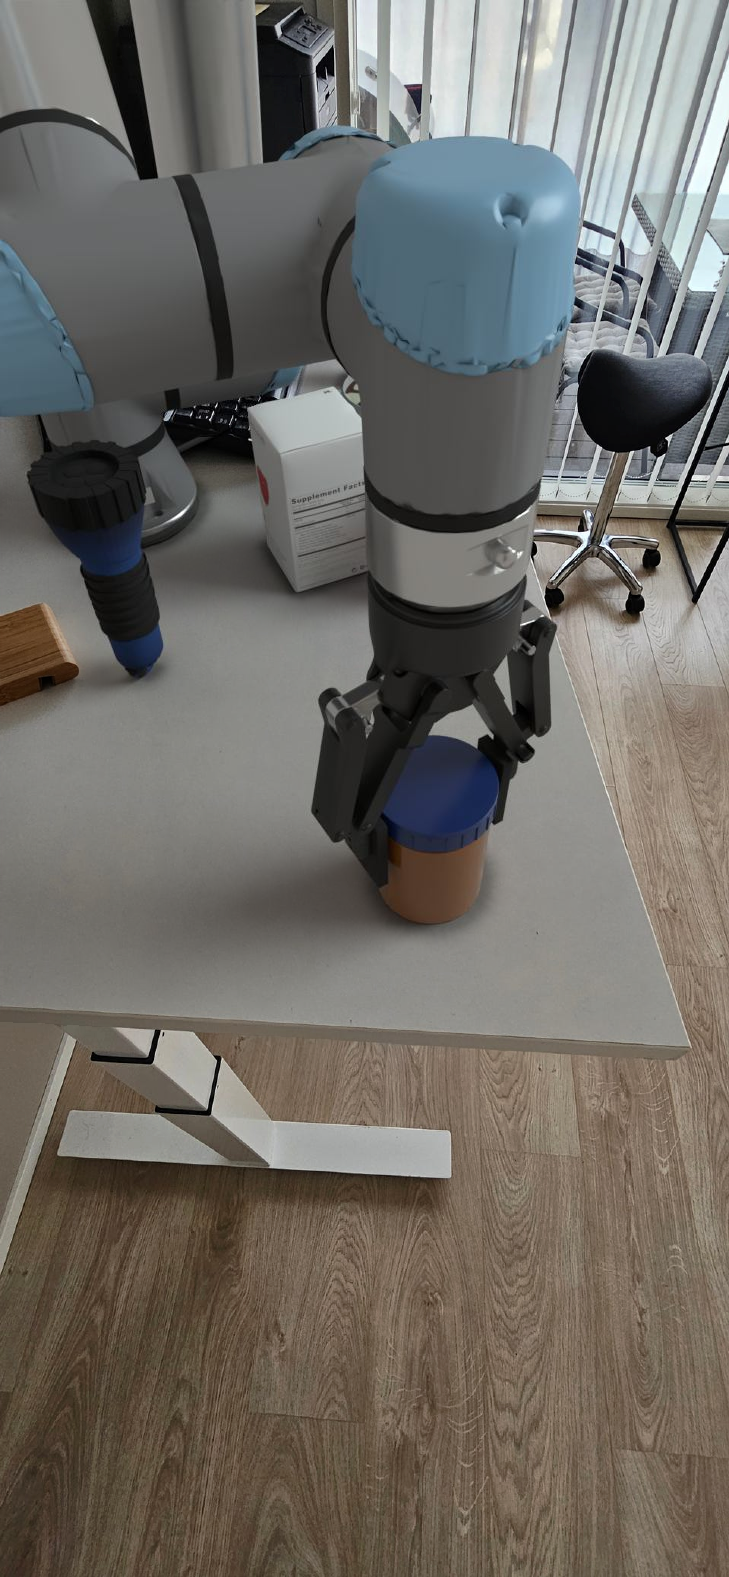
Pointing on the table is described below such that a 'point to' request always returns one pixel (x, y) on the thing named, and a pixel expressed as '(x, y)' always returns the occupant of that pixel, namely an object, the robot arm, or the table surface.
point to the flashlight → (104, 540)
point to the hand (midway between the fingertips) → (431, 839)
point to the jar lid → (442, 797)
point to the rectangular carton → (311, 485)
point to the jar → (433, 881)
